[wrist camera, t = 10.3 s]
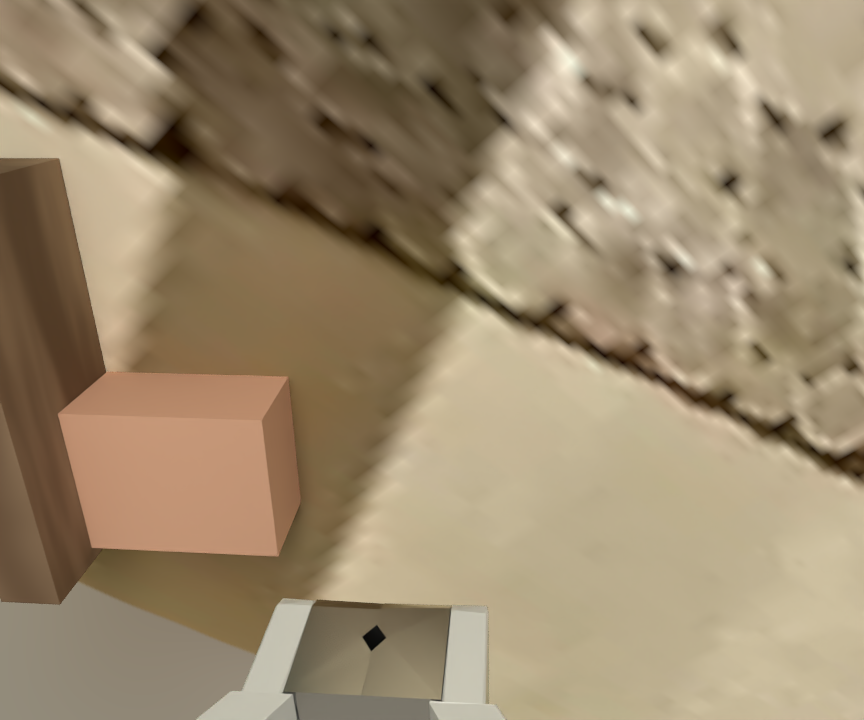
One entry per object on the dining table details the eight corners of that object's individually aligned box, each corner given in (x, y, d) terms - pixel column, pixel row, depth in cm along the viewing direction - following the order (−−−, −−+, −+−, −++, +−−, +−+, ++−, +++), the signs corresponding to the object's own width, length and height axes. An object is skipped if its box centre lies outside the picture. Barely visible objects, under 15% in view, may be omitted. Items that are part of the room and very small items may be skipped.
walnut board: (58, 158, 33) (-62, 190, 26) (135, 506, 42) (59, 604, 34) (-2, 158, 34) (-138, 189, 26) (86, 504, 42) (1, 601, 35)
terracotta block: (289, 374, 38) (261, 420, 33) (301, 499, 41) (278, 556, 36) (109, 369, 38) (57, 413, 34) (135, 492, 42) (91, 547, 37)
